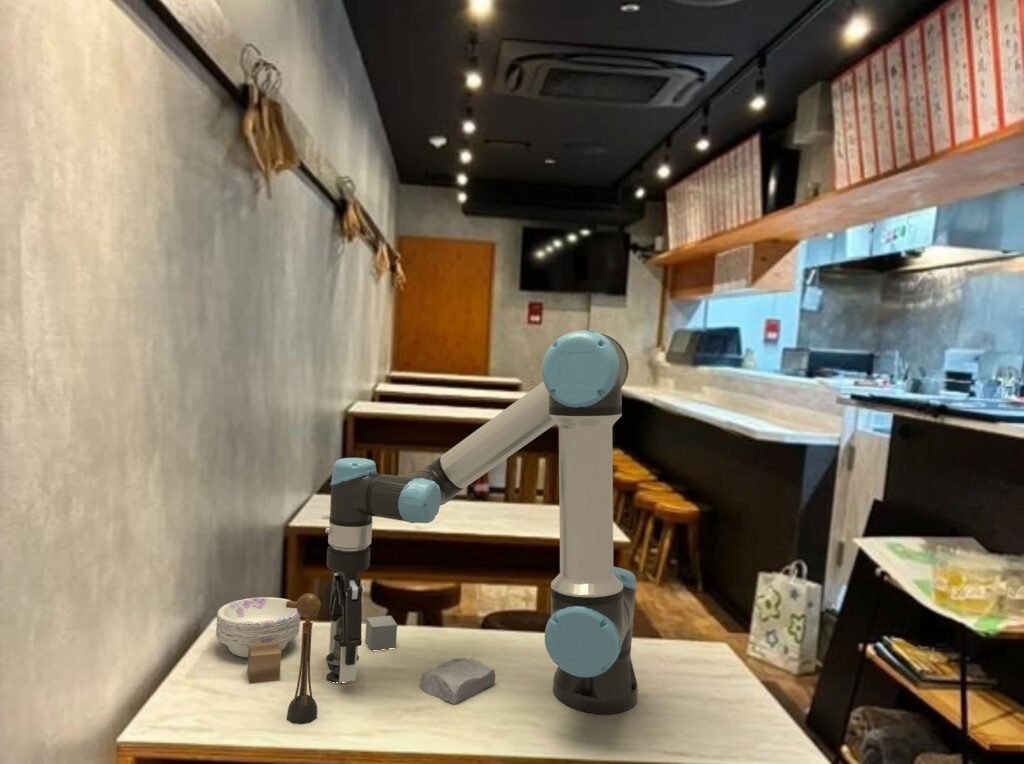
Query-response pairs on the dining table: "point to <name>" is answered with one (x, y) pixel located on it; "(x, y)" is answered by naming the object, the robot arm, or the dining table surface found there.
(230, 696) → the dining table surface
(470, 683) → the stone block
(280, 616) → the paper bowls
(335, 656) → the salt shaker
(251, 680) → the walnut cube
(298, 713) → the wooden tabletop sculpture
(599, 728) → the dining table surface
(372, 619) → the slate cube
